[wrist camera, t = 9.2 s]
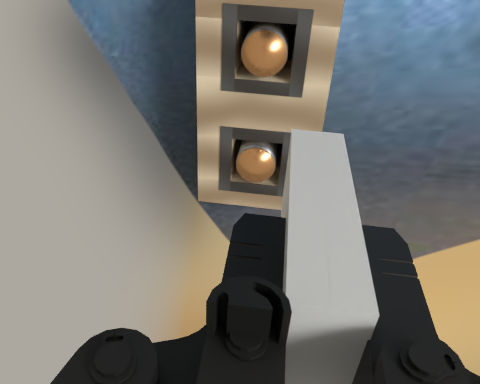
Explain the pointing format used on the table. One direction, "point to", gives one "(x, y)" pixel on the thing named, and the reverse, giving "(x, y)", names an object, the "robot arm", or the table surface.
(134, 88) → the table surface
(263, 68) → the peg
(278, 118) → the block
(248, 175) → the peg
